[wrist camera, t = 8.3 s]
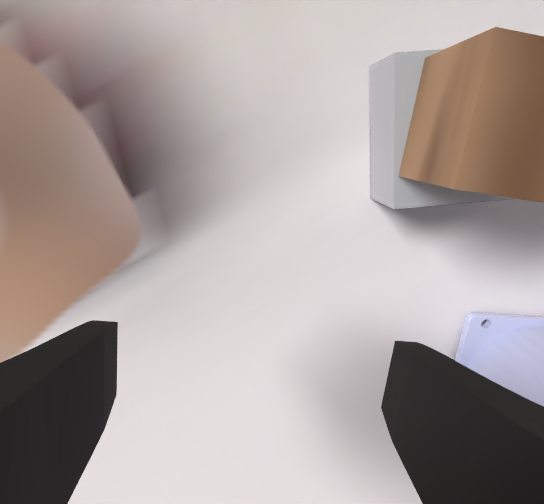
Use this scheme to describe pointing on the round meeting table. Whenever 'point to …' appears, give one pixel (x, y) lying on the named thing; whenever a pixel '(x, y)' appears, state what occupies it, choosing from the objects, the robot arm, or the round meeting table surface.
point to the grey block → (402, 136)
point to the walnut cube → (481, 117)
